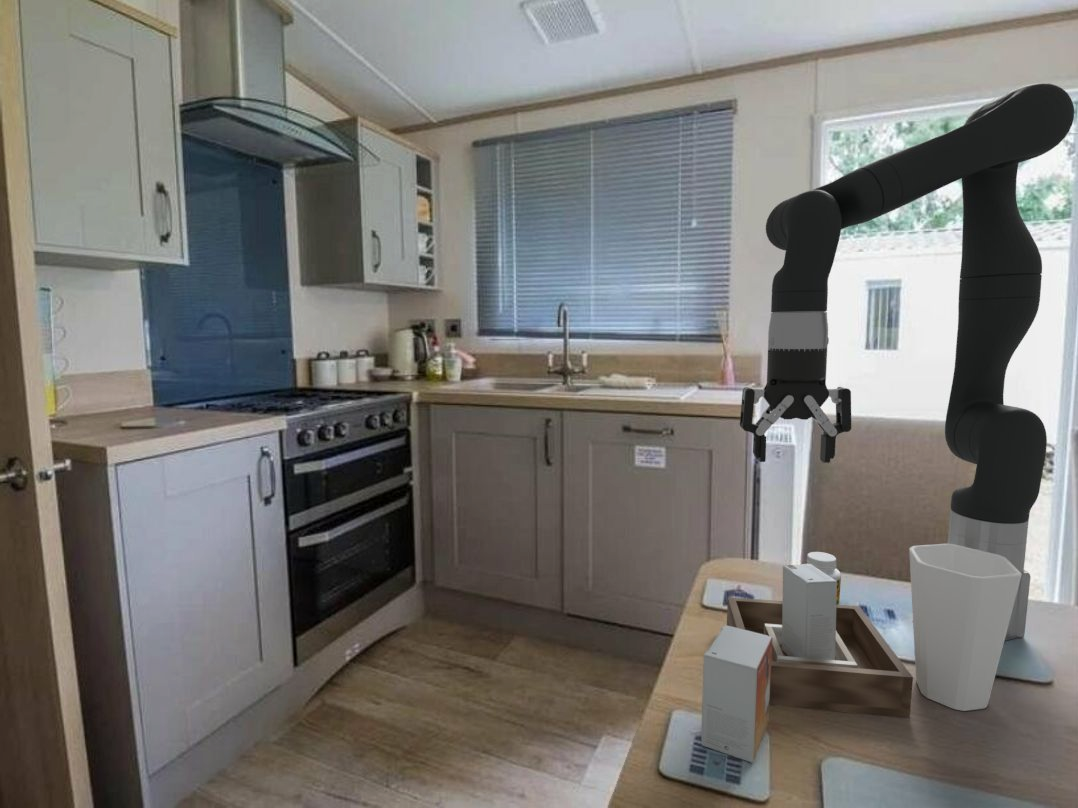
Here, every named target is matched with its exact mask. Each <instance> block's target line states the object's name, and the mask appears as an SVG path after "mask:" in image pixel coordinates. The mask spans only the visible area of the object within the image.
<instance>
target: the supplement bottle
mask: <svg viewBox="0 0 1078 808" xmlns="http://www.w3.org/2000/svg"><path fill="white" fill-rule="evenodd" d="M806 556H807V557H806V564H811V565H813V566H814V567H816V568H817V569H819V570H820V571H822V572H823V573H825V574H827V575H828V576H830V577H831V578H833V579H834V580H836V581H837V604H836V605H840V596H841V594H840V593H841V585H842V584H841V581H842V574H841V572H840V570H839V569H838V568H837V558H836V557H835V555H833V554H830V553H828V552H822V551H811V552H809V553H807V555H806Z"/></svg>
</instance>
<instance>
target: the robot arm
mask: <svg viewBox="0 0 1078 808" xmlns="http://www.w3.org/2000/svg"><path fill="white" fill-rule="evenodd" d="M1074 118H1075V107H1074V103H1073V101H1072V98H1071V96H1070V95H1069V94H1068V92H1067V91H1066V90H1065V89H1063V88H1062V87H1060V86H1058V85H1056V84H1052V83H1048V82H1047V83H1046V82H1037V83H1032V84H1027V85H1024V86H1021V87H1019V88H1016V89H1013V90H1011V91H1010V92H1008V93H1005V94H1003V95H1001V96H998V97H997V98H994V99H992V100H989V101H987V102H986V103H983V104H982V105H980V106H978V107H977V108H976V109H974V110H973V111H972V112H971V113H970V114H969V115H968V117H967V119H966V120H965V122H964V124H963V125H962V126H959V127H957V128H955V129H952V130H950V131H948V132H946V133H945V132H944V133H943V134H940V135H937V136H935V137H932V138H929V139H927V140H925V141H922V142H919V143H917V144H915V145H914V144H913V145H912V146H909V147H906V148H904V149H901V150H898V151H895V152H893V153H891V154H890V153H889V154H887V155H885V156H883V157H881V158H878V159H876V160H873V161H872V162H869V163H867V164H865V165H863V166H861V167H860V166H859V167H858V168H856V169H854V170H852V171H850V172H848V173H847V174H845V175H843V176H840V177H839V178H837V179H835V180H834V181H832V182H829V183H828V184H824V185H821V186H819V187H816V188H814V189H811V190H808V191H803V192H801V193H799V194H797V195H794V196H792V197H790V198H788V199H787V198H786V200H783V201H782V202H780V203H779V204H777V205H775V207H774V208H773V209H772V210H771V212H770V213H769V215H768V218H767V220H766V223H765V233H766V237H767V239H768V242H770V243H771V244H772V246H774V247H775V248H777V249H779V250H783V251H785V253H784V261H783V265H782V267H781V268H780V269H779V270H778V271H777V272H776V273H775V274H774V276H773V278H772V279H773V280H772V284H771V300H770V301H771V305H770V307H771V310H770V312H771V313H770V321H769V325H768V333H767V334H768V336H767V339H768V340H767V363H766V364H767V365H766V366H767V368H766V371H767V372H766V374H767V375H766V384H765V386H764V388H751V387H749V386H745V387H744V388H743V389H742V395H741V405H740V406H741V407H740V416H739V417H740V418H739V427H740V428H742V430H743V431H745V432H749V433H752V436H753V438H752V445H753V446H752V453H753V456H754V457H755V458H756V459H757V461H758V462H760V463H765V462H766V458H767V456H766V455H767V454H766V453H767V436H766V435H765V434H766V432H767V431H768V430H769V429H770V428H771V426H772V425H774V424H775V423H776V422H777V421H778V420H779V419H780V418H781V419H783V420H793V419H794V420H795V419H799V420H805V421H807V420H809V419H811V418H812V420H813V421H814V422H815V423H816V424H817V425H818V427H819V428H820V429H821V431H822V432H823V433H821V434H820V448H819V449H820V451H819V458H820V459H819V460H820V461H821V462H822V463H825V464H827V463H828V464H829V463H830V462H831V459H832V460H833V459H834V458H835V455H836V439H837V436H838V435H839V434H842V433H848V432H850V431H851V430H852V392H851V390H850V389H849V388H846V387H844V386H837V388H828V387H827V385H826V384H827V383H826V380H827V365H828V364H827V361H828V360H827V359H828V344H829V340H830V339H829V324H828V312H827V311H828V294H829V293H828V292H829V285H828V284H829V283H828V281H829V277H830V273H831V271H832V268H833V265H834V261H835V256H836V253H837V249H838V245H839V241H840V237H841V232H842V230H843V229H846V228H849V227H853V226H858V225H860V224H863V223H868V222H870V221H872V220H876V219H877V218H879V217H881V216H883V215H885V214H888V213H890V212H893V211H895V210H898V209H900V208H901V207H904V206H905V205H908V204H910V203H912V202H914V201H916V200H919V199H921V198H922V197H924V196H926V195H929V194H931V193H933V192H935V191H937V190H939V189H941V188H944V187H945V186H948V185H950V184H952V183H954V182H956V181H959V180H960V179H961V188H962V189H961V190H962V205H963V206H962V237H961V239H962V241H961V263H960V272H959V284H958V285H959V286H958V305H957V307H958V308H957V309H958V315H957V316H958V319H957V334H956V347H955V360H954V369H953V375H952V383H951V389H950V393H949V399H948V400H949V401H948V404H947V405H948V406H947V409H946V411H947V412H946V416H945V423H944V437H945V438H944V439H945V441H946V445H947V447H948V449H949V450H950V452H951V453H952V454H953V455H954V456H956V458H959V459H960V460H962V461H965V462H968V463H972V464H974V465H976V468H975V474H974V479H973V483H972V484H971V485H970V486H964V487H959V488H956V489H955V490H953V492H952V494H951V498H950V499H951V500H950V513H949V521H948V523H949V524H948V537H947V544H955V545H959V546H963V547H967V548H972V549H976V550H980V551H984V552H989V553H993V554H997V555H1000V556H1003V557H1005V558H1006V559H1007V560H1008V561H1009V562H1010V563H1011V564H1012V565H1013V566H1014V567H1015V568H1016V569H1017V570H1018V571H1019V572H1020V573H1021V574H1022V575H1021V579H1020V583H1019V587H1018V591H1017V594H1016V598H1015V602H1014V606H1013V610H1012V614H1011V617H1010V621H1009V625H1008V629H1007V633H1006V637H1005V640H1004V641H1008V640H1012V639H1015V638H1025V633H1026V623H1027V616H1028V615H1027V614H1028V604H1029V603H1028V602H1029V595H1030V587H1031V586H1030V584H1031V573H1030V572H1028V571H1026V570H1025V560H1026V552H1027V551H1026V549H1027V542H1028V541H1027V540H1028V539H1027V538H1028V529H1029V519H1030V513H1031V510H1032V509H1033V507H1034V505H1035V504H1036V502H1037V499H1038V498H1039V494H1040V491H1041V490H1040V489H1041V484H1042V477H1043V472H1044V468H1045V467H1044V466H1045V460H1046V453H1047V446H1048V444H1047V443H1048V440H1047V432H1046V427H1045V425H1044V423H1043V421H1042V419H1041V418H1040V416H1039V415H1037V414H1036V413H1034V412H1033V411H1031V410H1030V409H1029V410H1028V409H1026V408H1023V407H1019V406H1018V407H1017V406H1012V405H1006V404H1005V403H1004V393H1005V382H1006V381H1005V379H1006V373H1007V370H1008V369H1007V368H1008V366H1009V363H1010V361H1011V359H1012V357H1013V355H1014V353H1015V352H1016V350H1017V349H1018V347H1019V345H1020V344H1021V342H1022V341H1023V340H1024V338H1025V336H1026V335H1027V333H1028V331H1029V330H1030V328H1031V326H1032V325H1033V323H1034V321H1035V318H1036V317H1037V314H1038V312H1039V306H1040V300H1041V290H1042V277H1043V275H1042V274H1043V262H1042V257H1041V253H1040V250H1039V248H1038V246H1037V243H1036V242H1035V240H1034V238H1033V236H1032V234H1031V232H1030V231H1029V229H1028V227H1027V225H1026V223H1025V222H1024V220H1023V218H1022V216H1021V213H1020V211H1019V207H1018V202H1017V179H1018V177H1017V176H1018V169H1019V164H1020V163H1023V162H1027V161H1028V160H1031V159H1032V160H1033V159H1035V158H1038V157H1040V156H1042V155H1044V154H1046V153H1048V152H1050V151H1052V150H1053V149H1054V148H1056V147H1057V146H1059V144H1060V143H1061V142H1062V141H1063V140H1064V139H1065V138H1066V136H1067V135H1068V134H1069V132H1070V130H1071V128H1072V125H1073V124H1074ZM762 397H763V398H764V400H765V401H766V402H767V404H768V406H767V407H766V409H765V410H764V412H762V413H761V416H760V417H759V419H758V420H757V421H756V423H754V422H753V417H754V415H753V414H754V406H755V405H756V404H758V403H759V402H760V399H761V398H762ZM828 398H830V399H831V403H833V404H835V422H834V423H832V422H831V420H830V419H829V417H828V416H827V414H826V413H825V412H824V410H823V409H822V408H821V407H822V406H823V405H824V404H825V402H826V401H827V400H828Z"/></svg>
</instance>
